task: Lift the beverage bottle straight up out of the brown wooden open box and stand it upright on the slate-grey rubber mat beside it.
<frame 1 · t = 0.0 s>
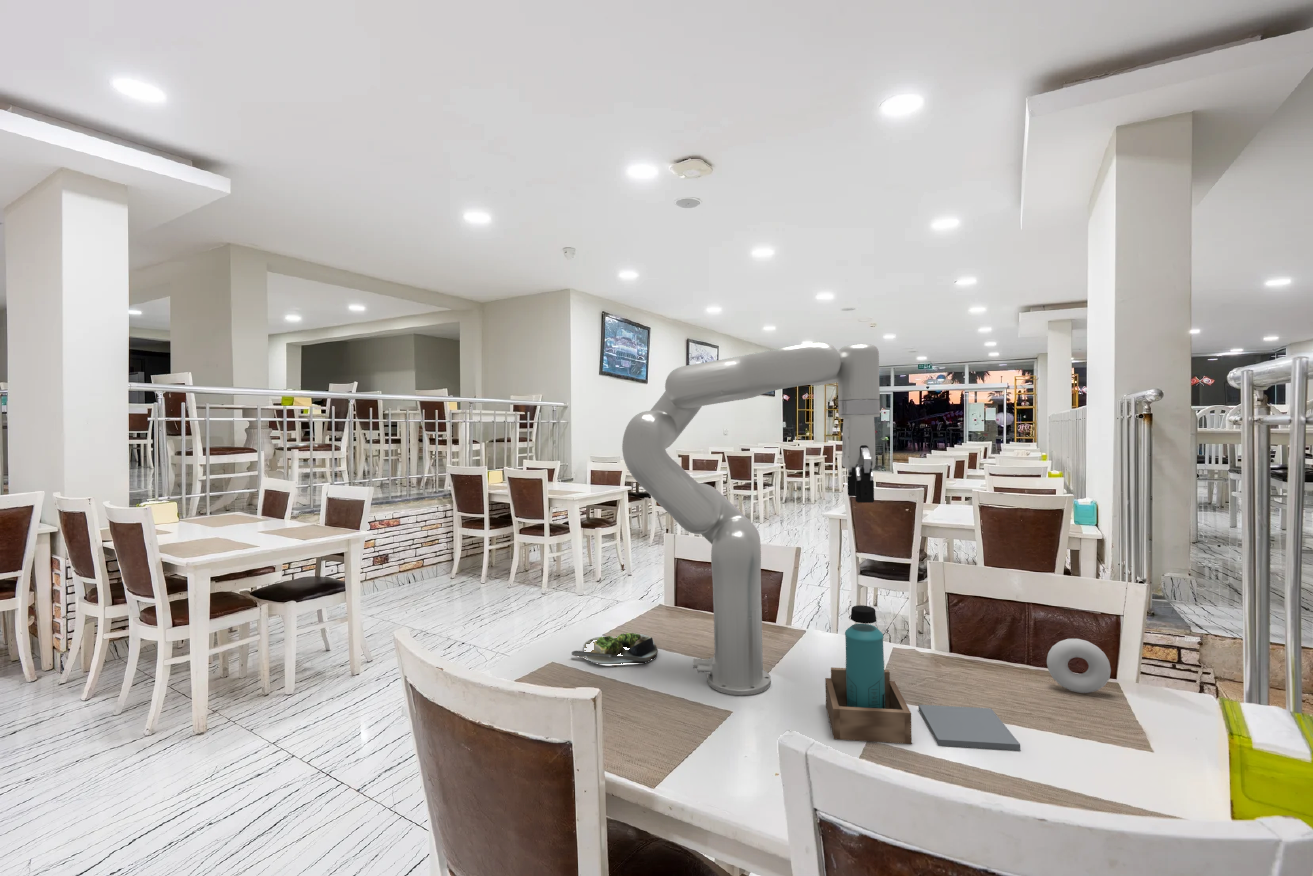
hand: (860, 499, 116), 37 cm above the table, tool pointing down, fingers open, 9 cm apart
brown wooden open box: (865, 723, 103), on the table
donut: (1078, 693, 113), on the table
slate mat: (966, 729, 101), on the table
beverage bottle: (865, 724, 103), resting in brown wooden open box
salad plate: (622, 655, 138), on the table
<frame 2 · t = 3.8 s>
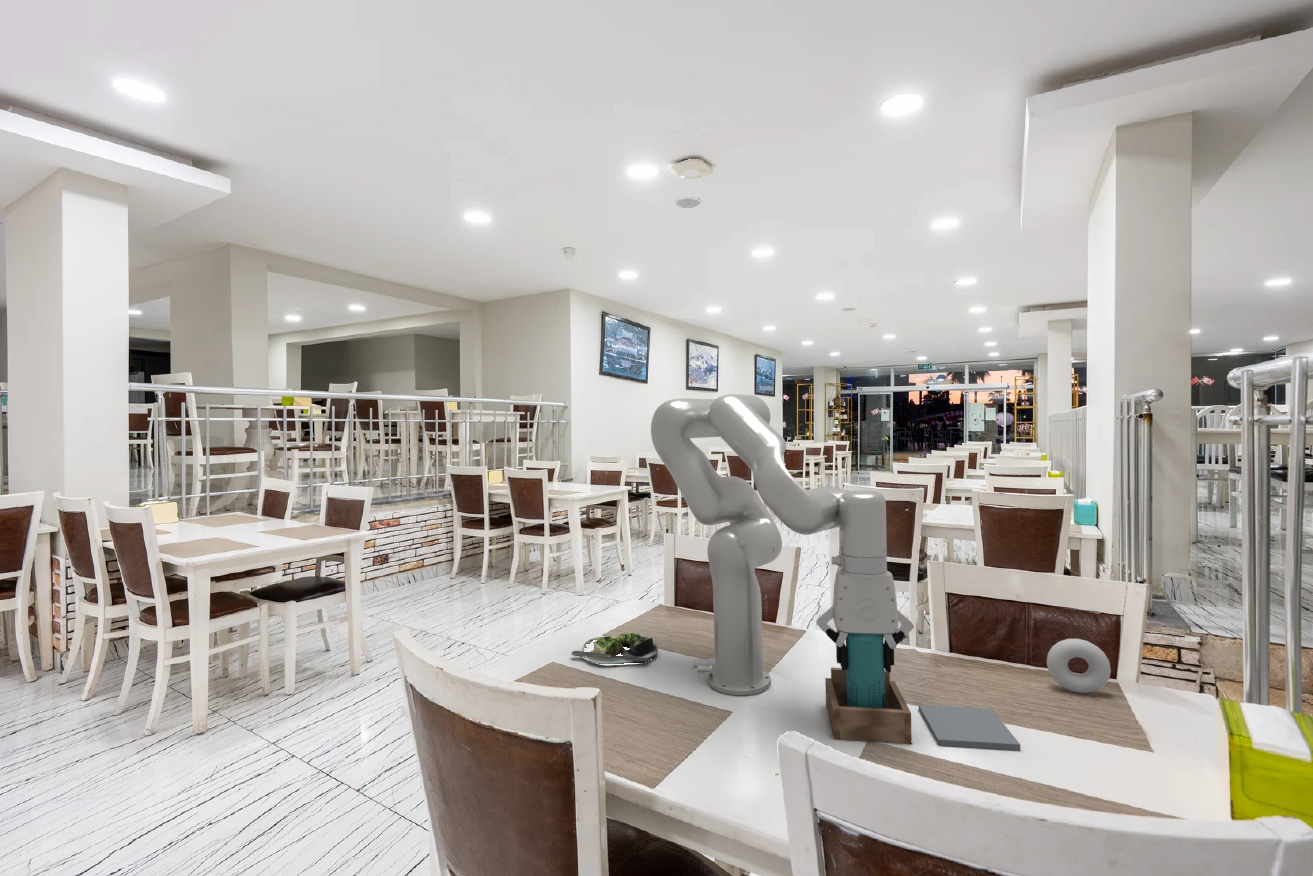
hand: (865, 667, 103), 10 cm above the table, tool pointing down, fingers closed on beverage bottle, 6 cm apart
beverage bottle: (865, 724, 103), resting in brown wooden open box, touching gripper
everything else where it was.
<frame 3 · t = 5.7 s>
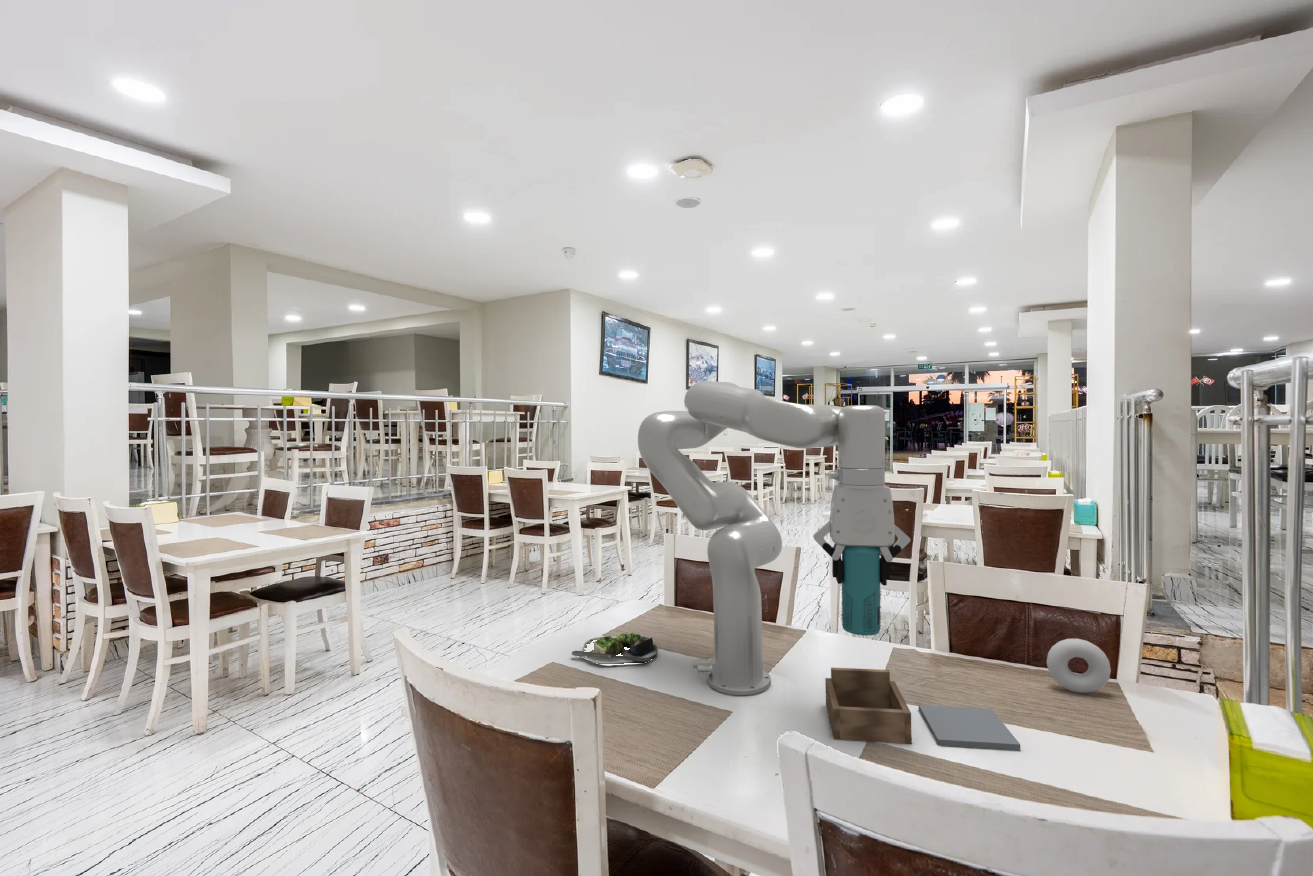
hand: (860, 581, 103), 24 cm above the table, tool pointing down, fingers closed on beverage bottle, 6 cm apart
beverage bottle: (860, 638, 103), point 14 cm above the table, touching gripper
everything else where it was.
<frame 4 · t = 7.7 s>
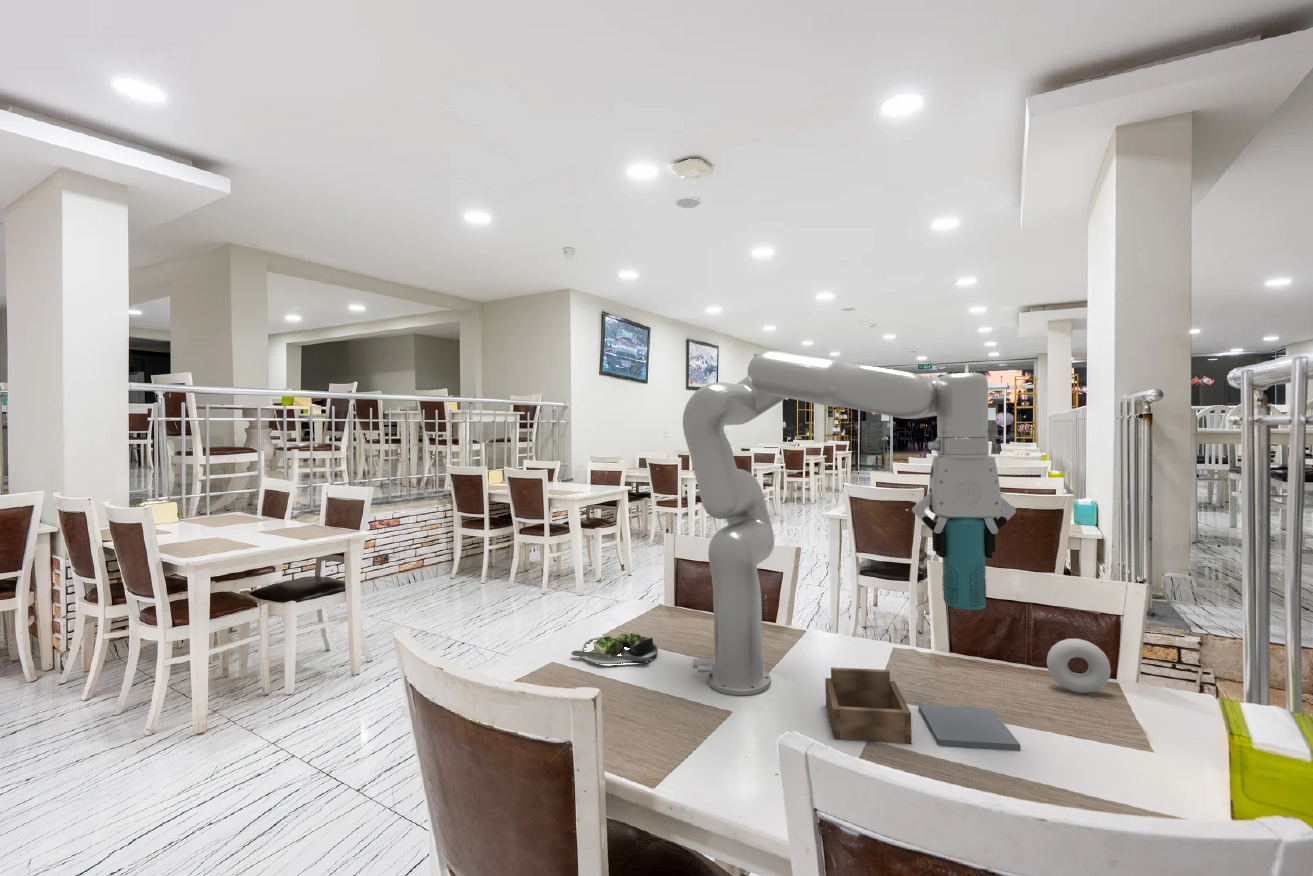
hand: (963, 555, 100), 29 cm above the table, tool pointing down, fingers closed on beverage bottle, 6 cm apart
beverage bottle: (963, 614, 100), point 19 cm above the table, touching gripper
everything else where it was.
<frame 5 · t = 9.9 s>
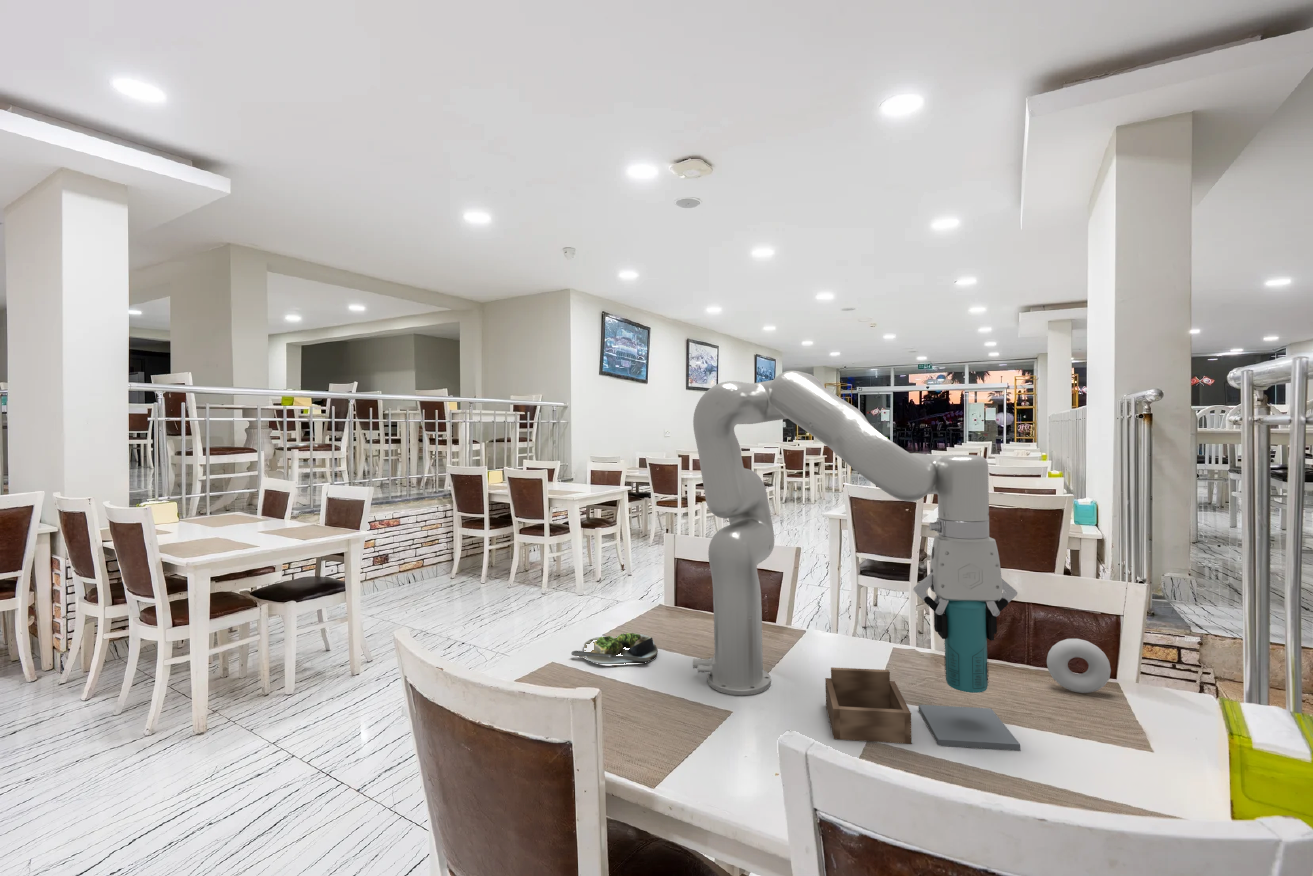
hand: (965, 636, 100), 16 cm above the table, tool pointing down, fingers closed on beverage bottle, 6 cm apart
beverage bottle: (966, 694, 100), point 6 cm above the table, touching gripper
everything else where it was.
when the fingers open (12 cm above the table, at t = 11.7 s): beverage bottle drops 1 cm, resting on slate mat.
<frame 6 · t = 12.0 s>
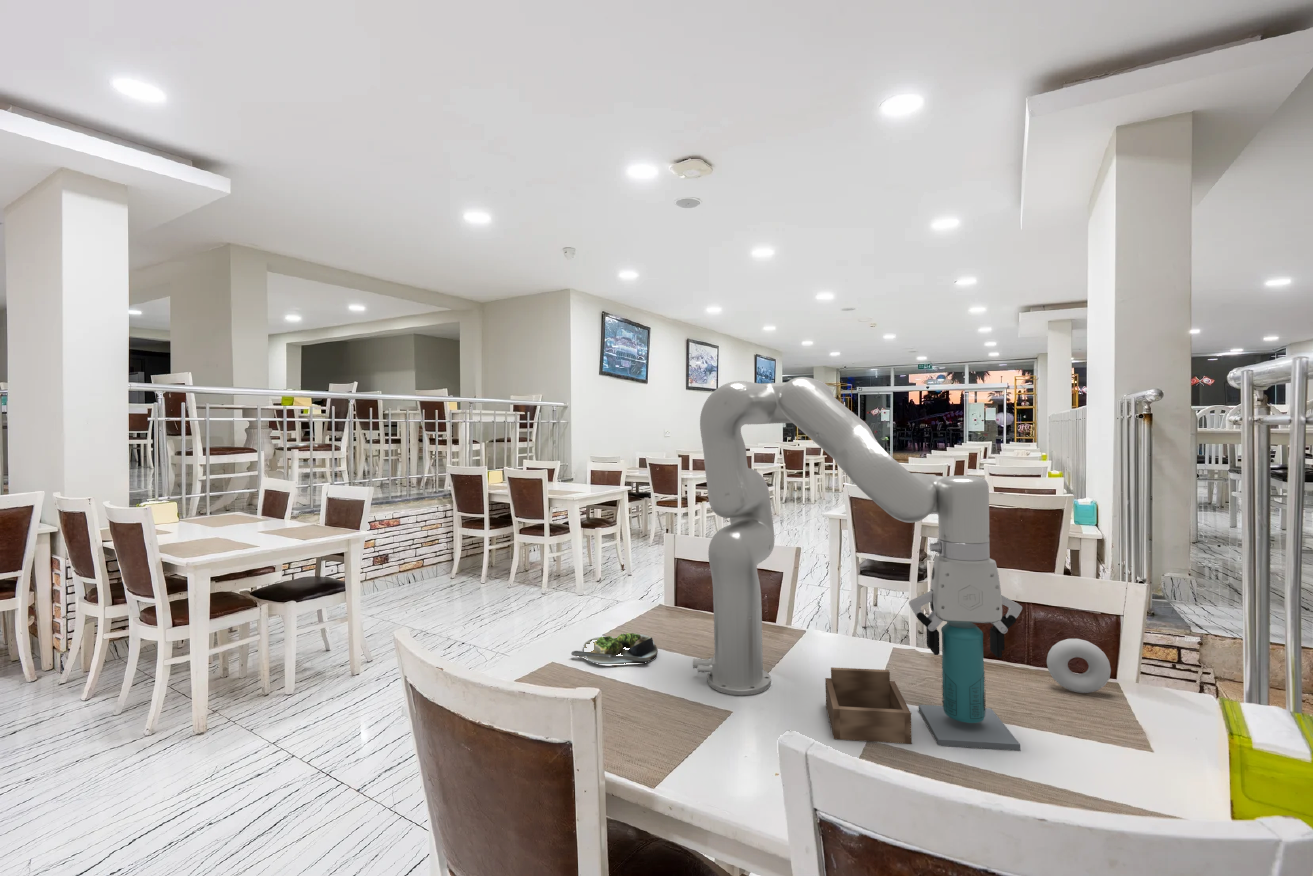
hand: (965, 653, 100), 13 cm above the table, tool pointing down, fingers open, 9 cm apart
beverage bottle: (963, 724, 101), point 1 cm above the table, touching slate mat
everything else where it was.
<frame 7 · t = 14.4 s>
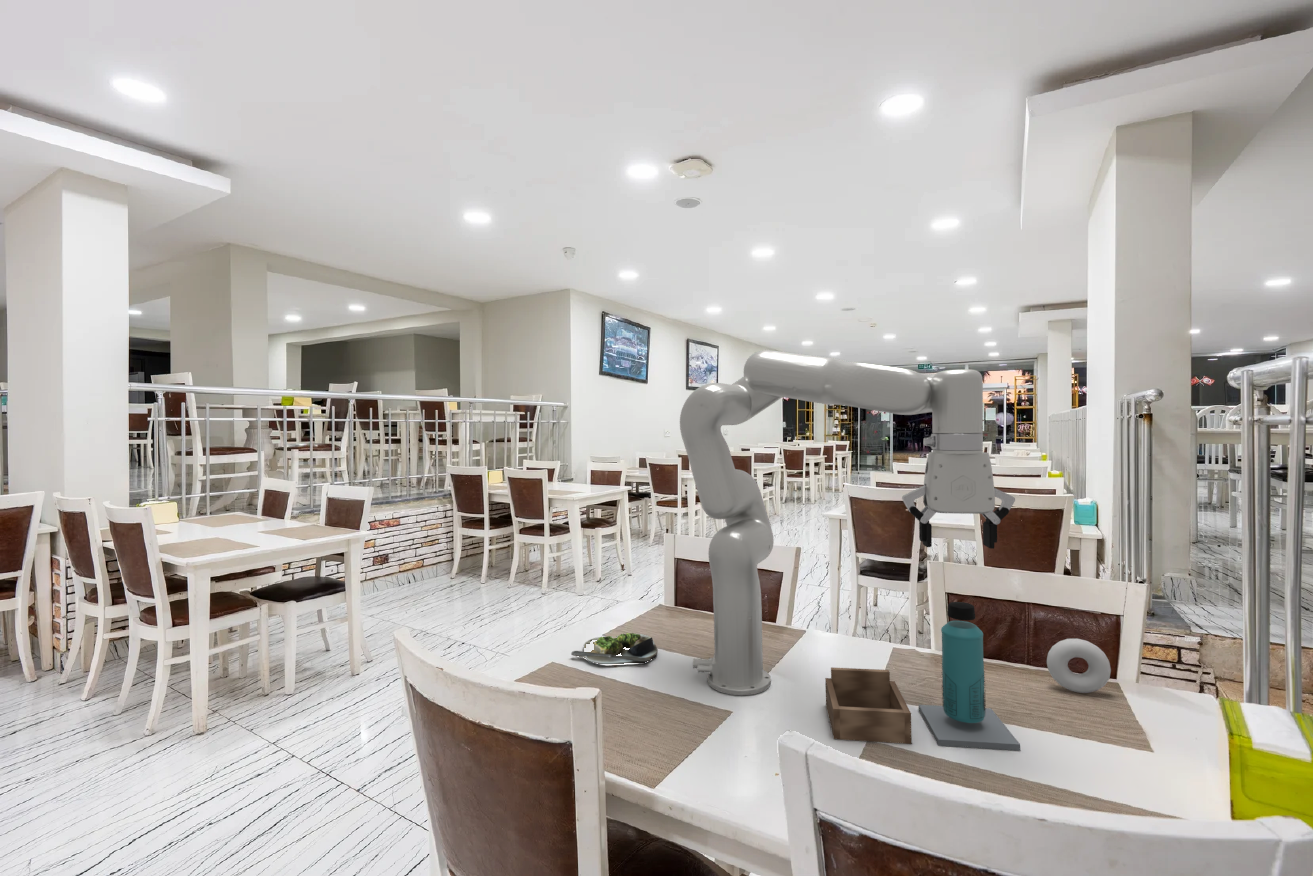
hand: (957, 546, 101), 30 cm above the table, tool pointing down, fingers open, 9 cm apart
nothing on the table moved.
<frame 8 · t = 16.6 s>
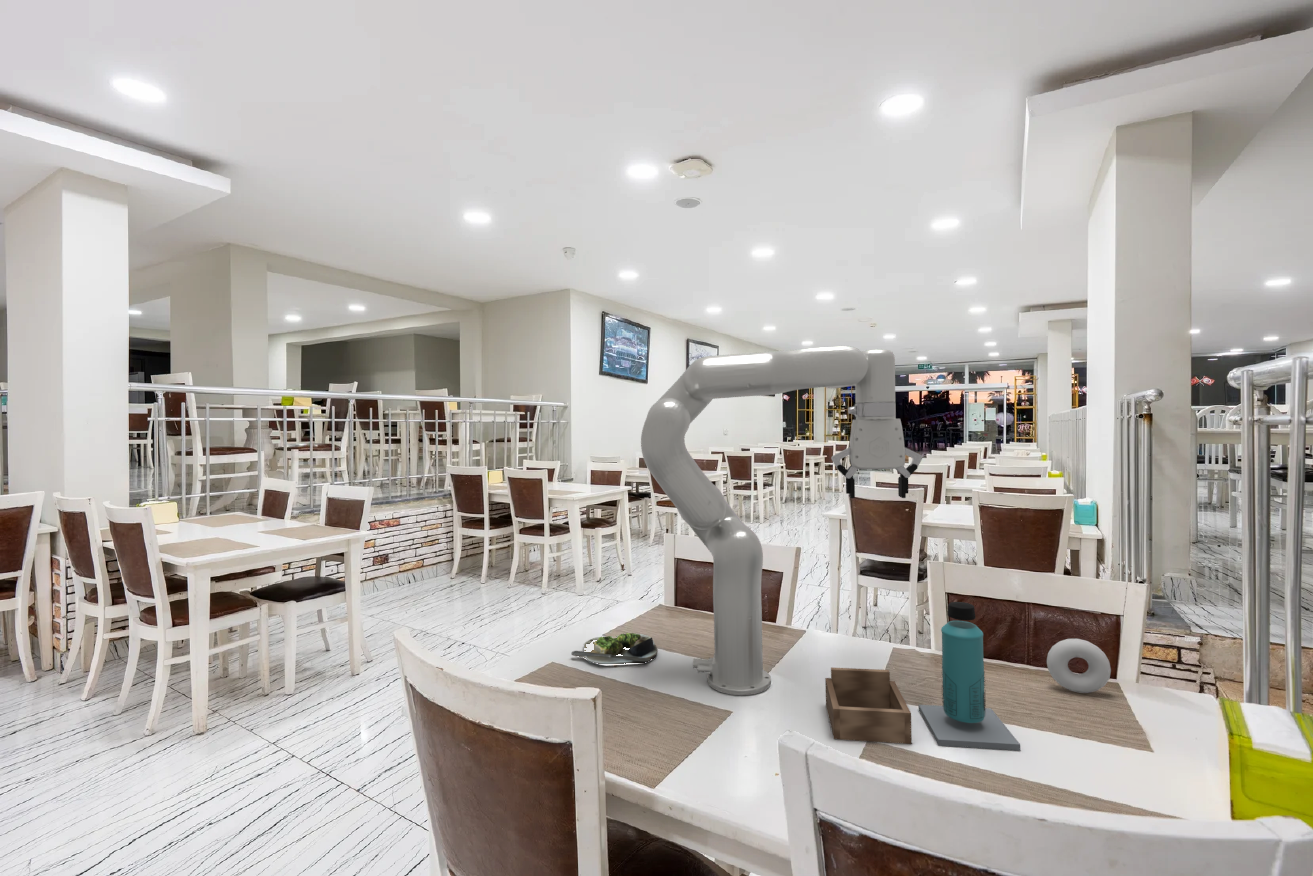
hand: (876, 497, 121), 36 cm above the table, tool pointing down, fingers open, 9 cm apart
nothing on the table moved.
at the end: beverage bottle inside the target area on the slate mat (0.4 cm from its centre), point 0.8 cm above the slate mat's base; beverage bottle tilted 0°; the gripper is holding nothing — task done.
